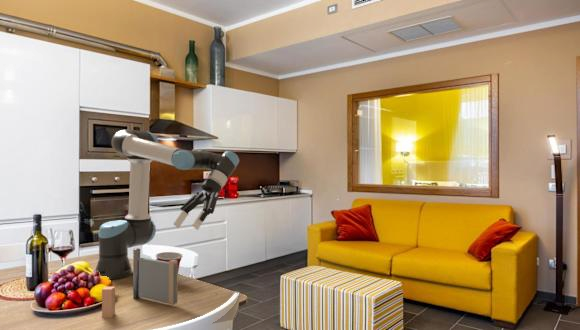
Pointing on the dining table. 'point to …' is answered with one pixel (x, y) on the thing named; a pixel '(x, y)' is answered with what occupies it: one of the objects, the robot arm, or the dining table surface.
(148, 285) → the panel
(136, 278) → the gate post
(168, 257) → the plastic cup
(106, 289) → the post
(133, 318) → the dining table surface
